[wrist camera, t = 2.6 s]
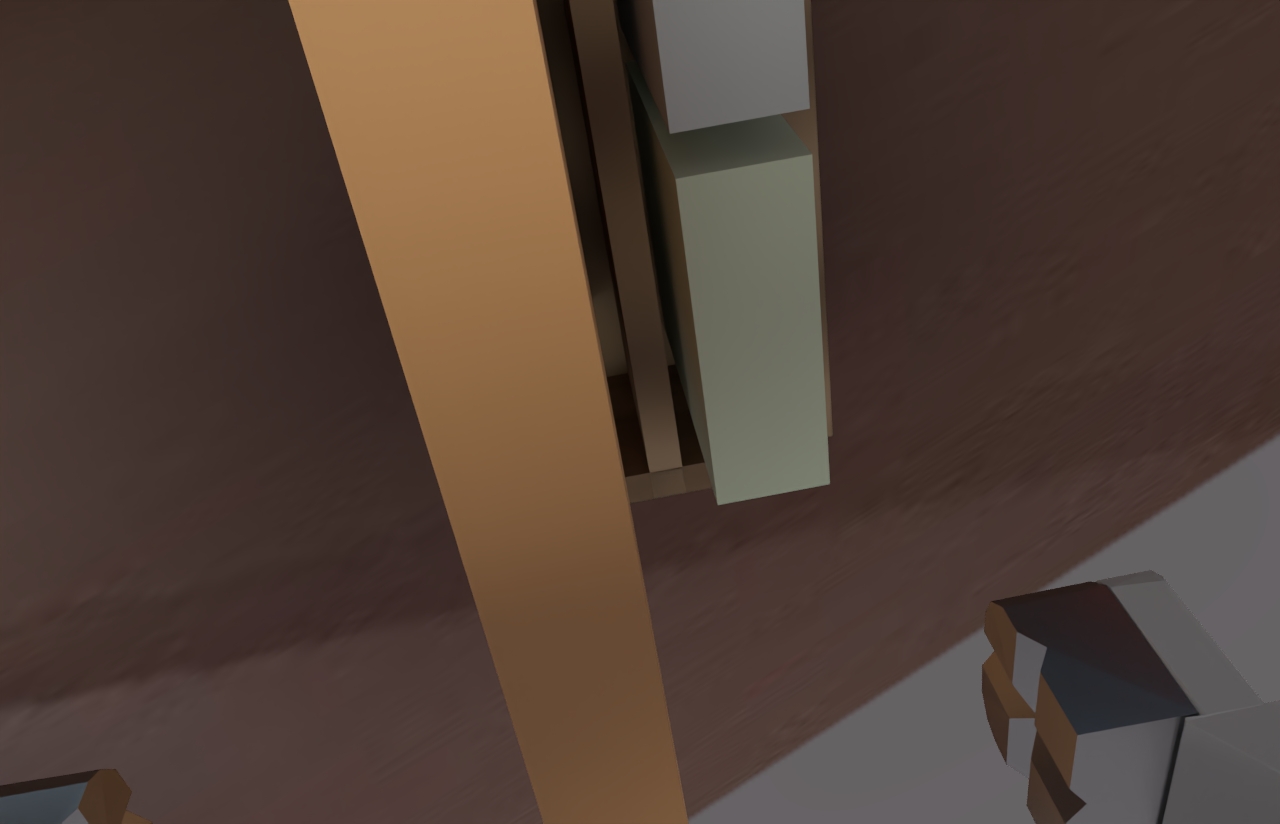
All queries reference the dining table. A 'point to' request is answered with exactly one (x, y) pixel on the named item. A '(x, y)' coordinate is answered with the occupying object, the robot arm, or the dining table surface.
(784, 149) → the offcut sage
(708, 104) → the offcut slate
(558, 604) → the tall sheet
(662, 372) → the rack
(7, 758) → the dining table surface
